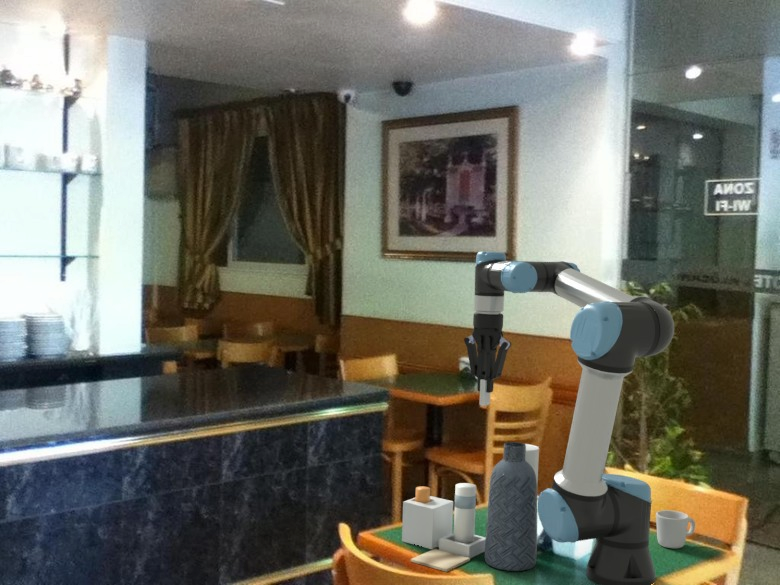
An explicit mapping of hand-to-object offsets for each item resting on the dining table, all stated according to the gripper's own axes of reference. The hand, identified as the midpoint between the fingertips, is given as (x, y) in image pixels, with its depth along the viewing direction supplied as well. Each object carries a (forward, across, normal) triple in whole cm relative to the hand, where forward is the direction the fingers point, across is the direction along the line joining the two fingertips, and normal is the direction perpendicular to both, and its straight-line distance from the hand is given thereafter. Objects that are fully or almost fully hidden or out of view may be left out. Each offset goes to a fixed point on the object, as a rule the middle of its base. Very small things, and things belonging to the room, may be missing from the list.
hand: (484, 404), depth 242 cm
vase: (+34, -17, +13) cm, 40 cm away
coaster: (+34, -4, +24) cm, 41 cm away
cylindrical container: (+34, -13, +2) cm, 36 cm away
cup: (+34, -42, -27) cm, 60 cm away
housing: (+34, +2, +14) cm, 36 cm away
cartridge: (+34, -4, +14) cm, 36 cm away
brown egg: (+27, +9, +14) cm, 31 cm away
